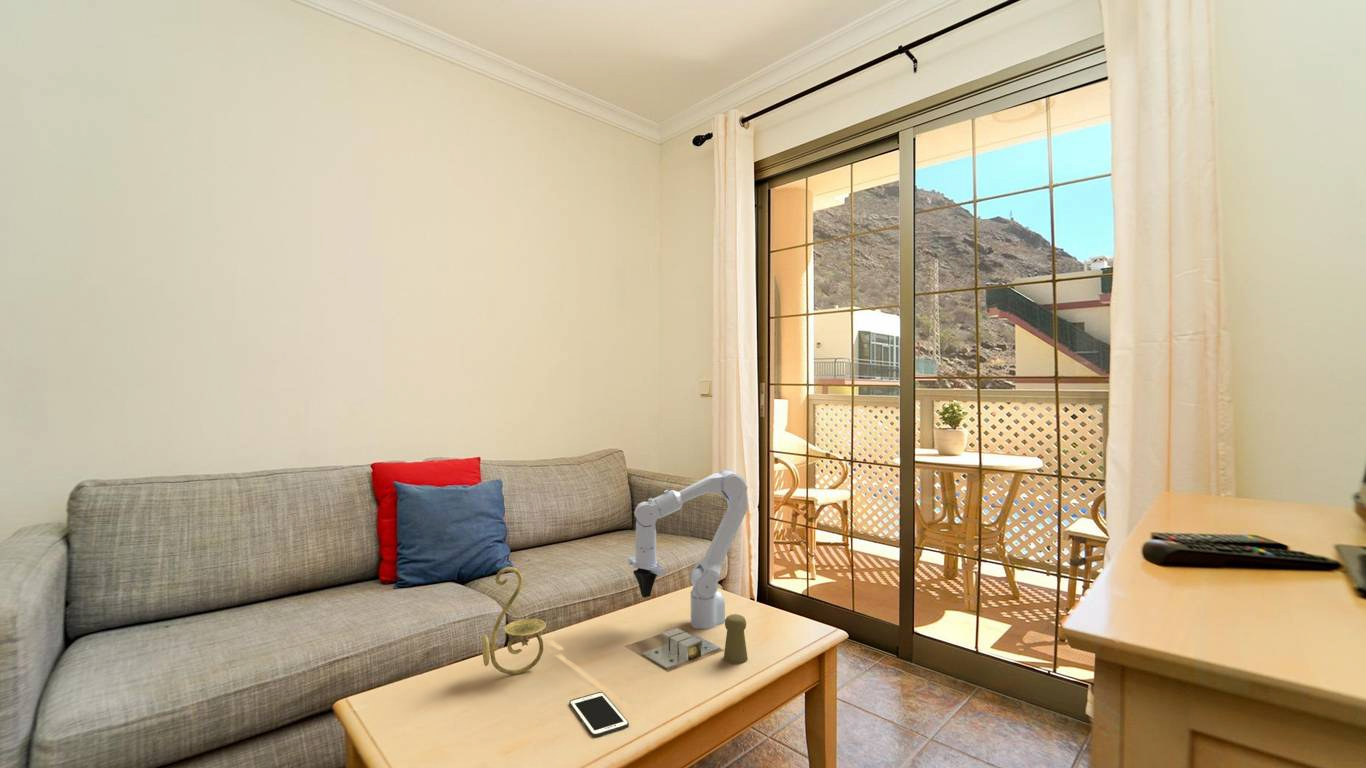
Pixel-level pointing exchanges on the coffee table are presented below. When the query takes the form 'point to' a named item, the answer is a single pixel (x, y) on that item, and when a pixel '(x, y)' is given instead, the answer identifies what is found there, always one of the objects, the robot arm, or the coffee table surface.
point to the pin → (692, 652)
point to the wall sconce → (513, 630)
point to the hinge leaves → (678, 648)
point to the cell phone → (598, 714)
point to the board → (657, 642)
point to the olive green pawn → (735, 640)
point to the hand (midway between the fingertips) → (646, 596)
